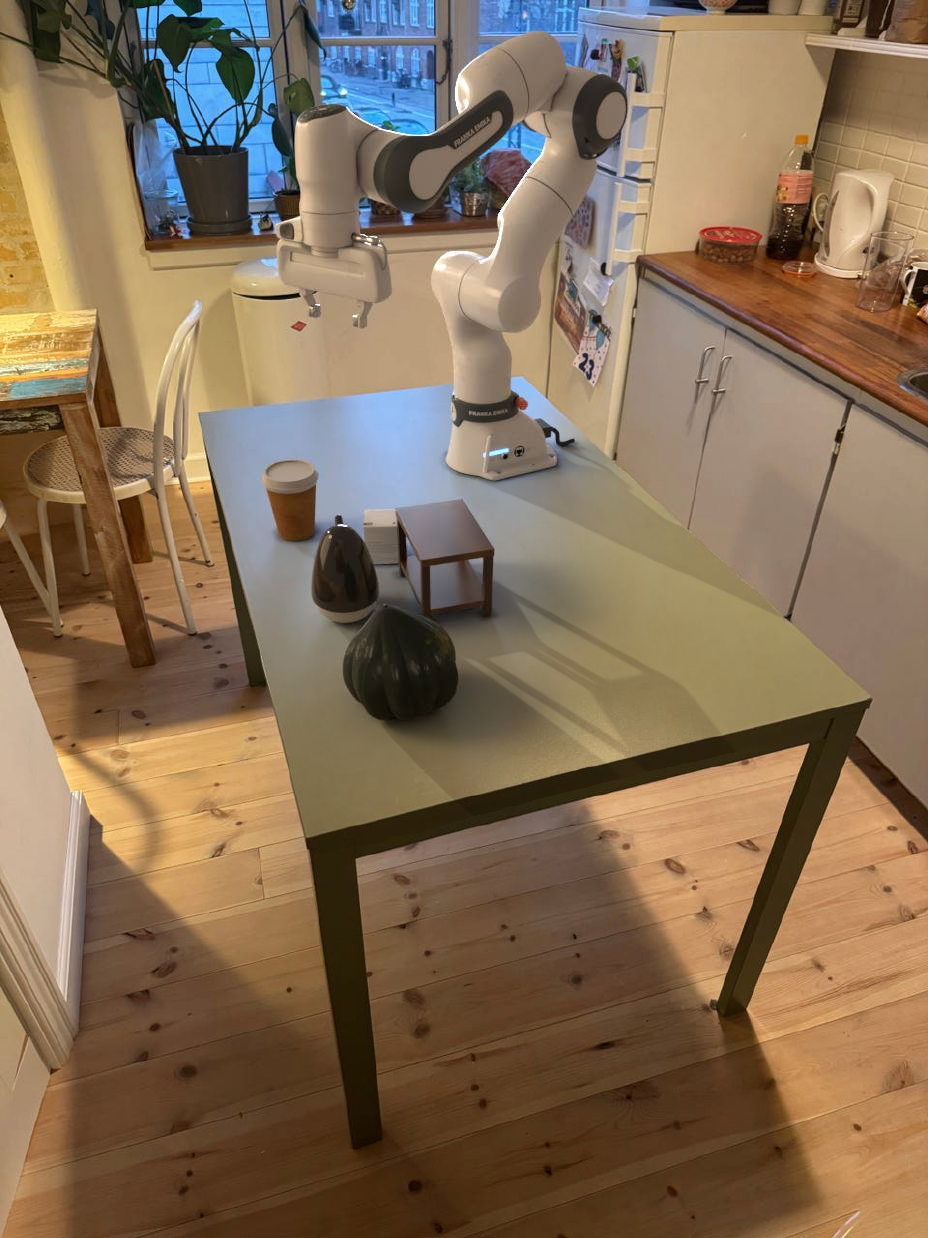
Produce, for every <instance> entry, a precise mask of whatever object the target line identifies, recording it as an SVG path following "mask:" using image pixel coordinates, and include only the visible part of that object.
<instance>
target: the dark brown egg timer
mask: <svg viewBox="0 0 928 1238" xmlns="http://www.w3.org/2000/svg"><path fill="white" fill-rule="evenodd" d="M343 519H344V518H343V516H342V515H341V514H337V515H335V516H334V525H332V526H330V527H329V528H327V530H326V531H324V533H323V534H322V536H321V538H320V540H319V543H318V545H317V548H316V551H315V556H314V560H313V565H312V572H311V573H312V574H311V584H310V587H311V588H310V591H311V599H312V601H313V603H314V604H315V605H316V607H317V609H318V611H319V612H320V613H321V614H322V615H323V617H325V618H327V619H328V620H330V621H332V622H336V623H341V624H351V623H355V622H359V621H361V620H362V619H364V618H366V617H367V616H368V615H369V614H370V613H371V612H372V611H373V610H374V608H375V606H376V603H377V600H378V599H379V597H380V591H381V590H380V583H379V578H378V574H377V570H376V566H375V564H374V563H373V560H372V558H371V555H370V553H369V550H368V548H367V546H366V544H365V542H364V538H363V537H362V536H361V534H360V533H359V532H358V531H357V530H356V529H355V528H354V527H353V526H350V525H347V524H345V523H344V520H343Z"/></svg>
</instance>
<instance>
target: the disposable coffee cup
mask: <svg viewBox="0 0 928 1238" xmlns="http://www.w3.org/2000/svg"><path fill="white" fill-rule="evenodd" d="M318 480H319V472H318V471H317V469H316V467H315V465H314V464H313V463H312V462H310V461H307V460H305V459H299V458H298V459H297V458H289V459H281V460H277V461H274V462H272V463H269V464H268V465H267V466H265V468H264V469H263V473H262V476H261V483H262V485H263V487H264V488H265V489H266V493H267V497H268V500H269V504H270V508H271V510H272V514H273V515H272V516H273V519H274V522H275V525H276V529H277V532H278V536H279V537H280V538H281V539H282V540H286V541H291V542H297V541H304V540H306V539H308V538H310V537H312V536H313V535H314V534H315V531H316V504H317V503H316V502H317V500H316V498H317V482H318Z"/></svg>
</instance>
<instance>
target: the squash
mask: <svg viewBox="0 0 928 1238" xmlns="http://www.w3.org/2000/svg"><path fill="white" fill-rule="evenodd" d="M456 656H457V654H456V647H455V645H454V643H453V639H452V638H451V636H450V635H449V633H448V632H447V630H446V629H445V628H444V627H443V626H442V625H441V624H439V623H438V622H437V621H434V620H433V619H431V620H430V619H428V618H426V617H424V616H422V614H419V613H416V612H413V611H410V610H408V609H404V608H401V607H399V606H396V605H392V604H388V603H383V604H382V605H381V606H380V607H378V608H377V609H376V610H374V612H373V613H372V614H371V616H370V617H369V618H368V620H367V621H366V622H365V623H364V624H363V626H362V627H361V628H360V629H359V631H358V632H357V633H356V634H355V635H354V637H353V638H352V639H351V641H350V642H349V644H348V646H347V647H346V650H345V653H344V656H343V660H342V677H343V682H344V684H345V686H346V688H347V690H348V692H349V693H350V695H351V696H352V697H353V698H354V700H355V701H356V702H358V703H359V704H360V705H362V706H363V708H364V709H365V711H366V712H367V713H368V715H370V717H372V718H374V719H375V720H378V721H379V720H380V721H388V720H392V719H394V718H397V719H398V720H401V721H408V720H410V719H412V717H413V716H414V714H415V713H416V714H419V715H423V714H427V713H429V712H431V711H432V710H437V709H440V708H442V707H444V706H447V704H449V703H450V702H451V701H452V700H453V698H454V697H455V695H456V693H457V690H458V689H457V688H458V685H459V684H458V683H459V672H458V671H459V670H458V668H457V667H458V666H457V663H456V661H457V660H456V658H457V657H456Z"/></svg>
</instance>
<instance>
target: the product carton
mask: <svg viewBox="0 0 928 1238" xmlns="http://www.w3.org/2000/svg"><path fill="white" fill-rule="evenodd" d="M362 534H363V540H364V542H365V544H366V546H367V548H368V550H369V553H370V555H371V558H372V560H373V563H374V565H385V564H386V565H389V564H391V565H392V564H393V565H394V564H399V563H398V541H397V518H396V513H395V508H384V509H364V514H363V523H362Z"/></svg>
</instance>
